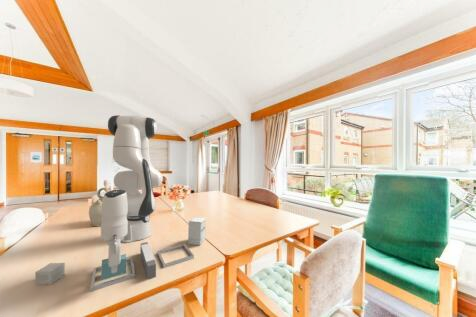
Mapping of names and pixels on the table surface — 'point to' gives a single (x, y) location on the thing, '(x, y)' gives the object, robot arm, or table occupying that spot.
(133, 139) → the robot arm
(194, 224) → the supplement box
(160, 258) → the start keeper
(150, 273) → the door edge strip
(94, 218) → the jug
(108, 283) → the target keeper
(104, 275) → the teal rectangular block
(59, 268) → the small box
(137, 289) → the table surface
